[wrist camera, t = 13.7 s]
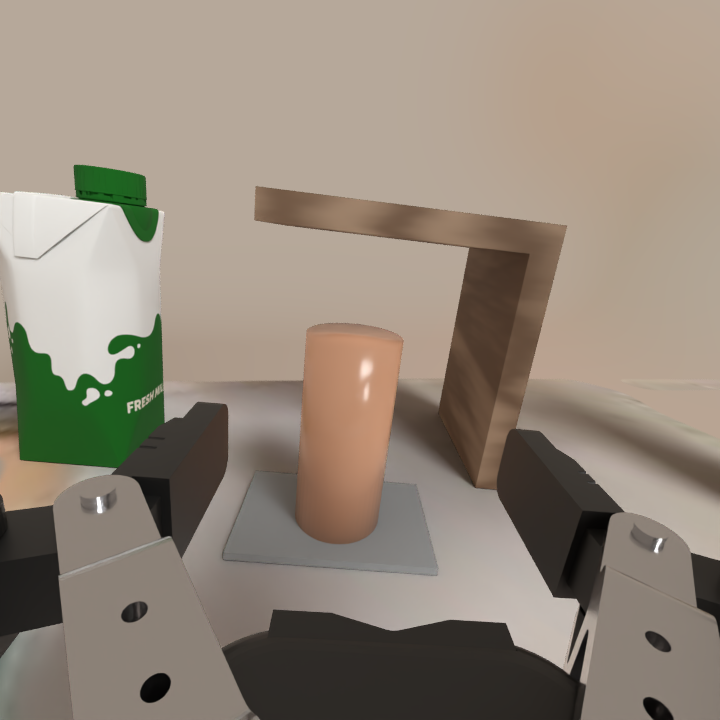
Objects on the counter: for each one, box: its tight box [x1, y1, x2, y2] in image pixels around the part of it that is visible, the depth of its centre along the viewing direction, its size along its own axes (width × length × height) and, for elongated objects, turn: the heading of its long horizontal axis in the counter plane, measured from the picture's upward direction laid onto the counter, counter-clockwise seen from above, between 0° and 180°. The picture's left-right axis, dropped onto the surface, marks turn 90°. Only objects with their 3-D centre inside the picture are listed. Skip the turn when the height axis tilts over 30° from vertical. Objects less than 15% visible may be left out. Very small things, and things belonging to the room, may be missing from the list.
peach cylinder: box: [295, 323, 403, 544], centre depth 24 cm, size 5×5×12 cm
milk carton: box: [0, 165, 165, 468], centre depth 29 cm, size 9×9×20 cm
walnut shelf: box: [254, 186, 567, 490], centre depth 35 cm, size 20×14×20 cm
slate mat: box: [223, 471, 438, 575], centre depth 26 cm, size 12×8×1 cm, turn 91°
